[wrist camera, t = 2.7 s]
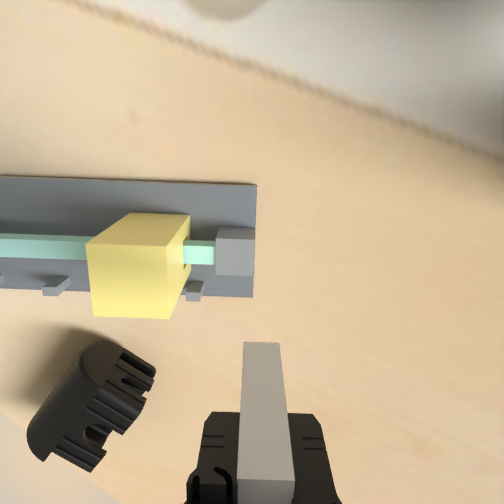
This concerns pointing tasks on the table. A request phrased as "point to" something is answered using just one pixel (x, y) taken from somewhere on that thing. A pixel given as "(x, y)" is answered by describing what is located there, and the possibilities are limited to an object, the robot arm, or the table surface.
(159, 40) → the table surface
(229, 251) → the comb rail
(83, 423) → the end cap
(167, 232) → the sleeve
